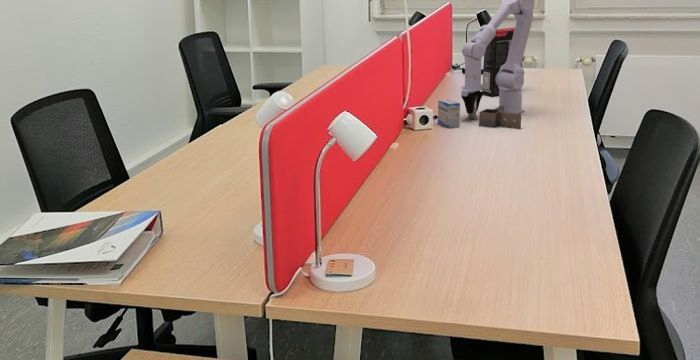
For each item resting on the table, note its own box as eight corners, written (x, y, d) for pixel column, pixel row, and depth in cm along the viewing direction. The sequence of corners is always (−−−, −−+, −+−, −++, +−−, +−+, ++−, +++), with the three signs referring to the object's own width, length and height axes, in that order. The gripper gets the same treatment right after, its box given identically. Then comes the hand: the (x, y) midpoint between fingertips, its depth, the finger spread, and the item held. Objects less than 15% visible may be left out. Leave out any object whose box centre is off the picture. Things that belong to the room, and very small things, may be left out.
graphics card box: (510, 89, 332) (513, 26, 324) (522, 92, 326) (525, 27, 318) (481, 95, 323) (483, 29, 315) (493, 97, 317) (495, 31, 309)
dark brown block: (495, 118, 281) (495, 104, 280) (510, 119, 278) (511, 106, 277) (479, 125, 270) (479, 112, 269) (495, 127, 267) (495, 113, 266)
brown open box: (486, 122, 275) (486, 108, 274) (523, 126, 268) (524, 112, 266) (479, 125, 270) (479, 112, 269) (516, 130, 263) (517, 116, 261)
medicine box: (437, 123, 275) (437, 100, 272) (448, 122, 277) (448, 98, 274) (449, 128, 268) (449, 104, 266) (459, 126, 270) (460, 102, 267)
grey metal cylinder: (469, 117, 284) (470, 95, 281) (478, 118, 282) (479, 96, 279) (465, 119, 281) (465, 96, 278) (474, 120, 279) (474, 97, 276)
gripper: (471, 71, 284) (470, 107, 288) (453, 77, 273) (453, 115, 277) (489, 72, 280) (488, 109, 284) (472, 79, 269) (471, 117, 273)
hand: (472, 112), depth 280 cm, fingers closed on grey metal cylinder, 3 cm apart
